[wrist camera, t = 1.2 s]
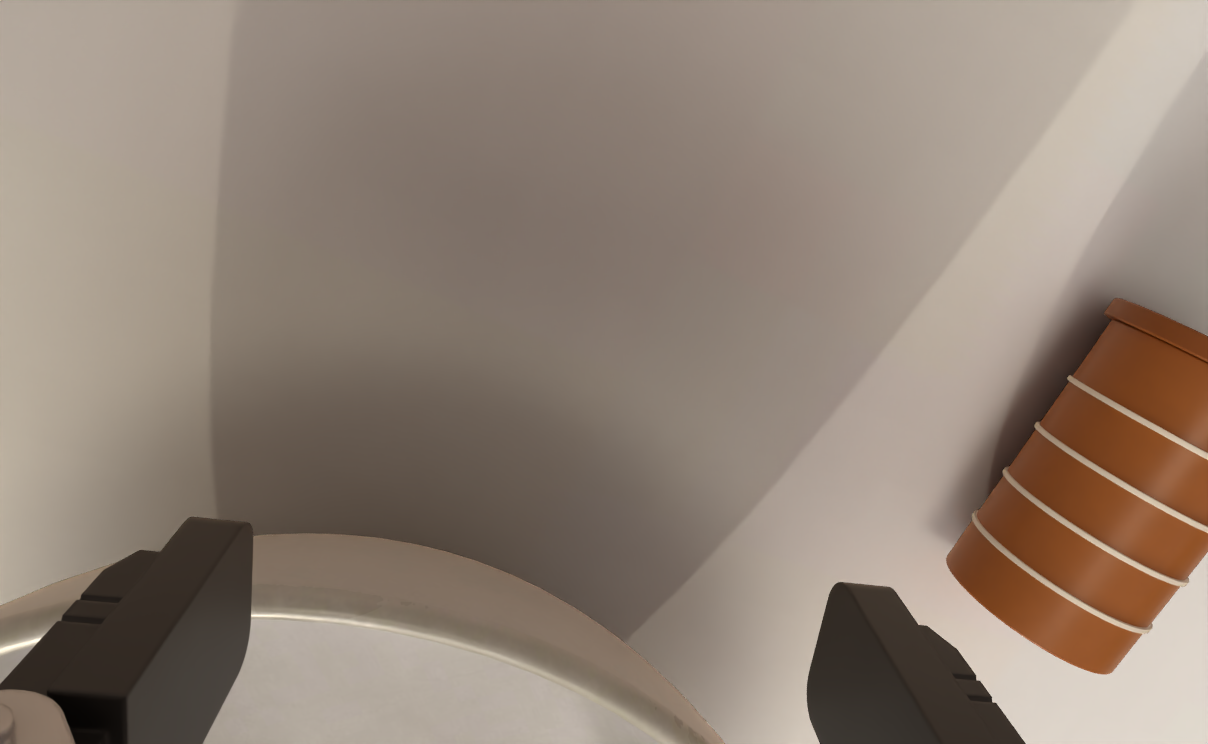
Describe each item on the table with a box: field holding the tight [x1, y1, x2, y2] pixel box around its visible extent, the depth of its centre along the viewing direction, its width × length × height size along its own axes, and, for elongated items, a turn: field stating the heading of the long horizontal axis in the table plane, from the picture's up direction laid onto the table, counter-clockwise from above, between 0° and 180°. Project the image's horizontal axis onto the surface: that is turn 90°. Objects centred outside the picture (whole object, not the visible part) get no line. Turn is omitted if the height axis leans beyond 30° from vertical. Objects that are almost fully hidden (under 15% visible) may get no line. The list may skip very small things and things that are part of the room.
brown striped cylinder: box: [946, 298, 1208, 674], centre depth 28 cm, size 10×6×6 cm, turn 153°
